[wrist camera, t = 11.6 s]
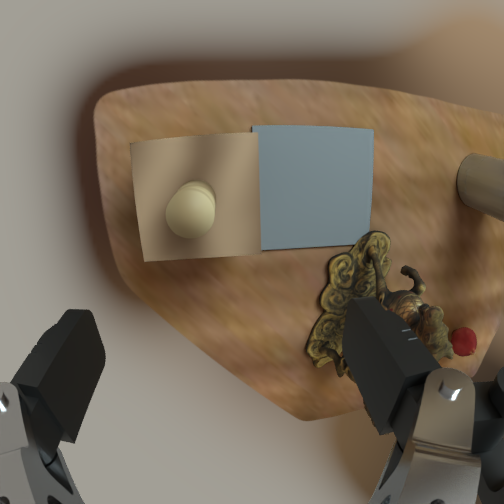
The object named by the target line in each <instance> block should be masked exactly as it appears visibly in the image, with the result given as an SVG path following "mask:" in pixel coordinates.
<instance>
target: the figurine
mask: <svg viewBox="0 0 504 504" xmlns="http://www.w3.org/2000/svg"><path fill="white" fill-rule="evenodd" d="M390 242H391V241H390V238H389V236H388V235H387V234H386V233H384V232H381V231H371V232H368V233H366V234H365V235H363V236H362V237H361V238H360V239H359V240H358V241H357V242H356V244H355V245H354V247H353V249H352V250H351V251H350V252H344V253H341V254H338V255H335V256H333V257H332V258H331V259H330V261H329V264H328V271H329V282H328V284H327V286H326V287H325V288H324V289H323V291H322V293H321V295H320V305H321V307H322V308H323V309H324V313H323V314H322V315H321V317H320V318H319V319H318V321H317V322H316V324H315V325H314V327H313V330H312V332H311V335H310V337H309V340H308V342H307V347H306V352H307V353H308V355H309V356H311V357H312V358H313V364H314V366H315V367H317V368H319V367H322V366H323V365H324V364H325V363H327V362H329V361H332V360H334V363H335V367H336V371H337V375H338V376H339V377H342V376H343V374H344V373H346V374H347V376H348V377H349V378H350V379H351V380H352V381H354V382H355V379H354V377H353V375H352V373H351V371H350V369H349V367H348V365H347V362H346V360H345V358H344V355H343V356H342V357H340V356H339V354H340V353H341V351H342V337H343V331H344V325H345V319H346V312H347V306H348V302H349V300H350V299H352V298H361V297H370V296H374V297H375V298H376V299H377V300H378V301H379V303H380V304H381V305H382V306H383V308H384V309H385V310H391V311H392V312H394V313H395V314H397V315H399V316H400V317H402V318H403V319H404V320H405V322H406V323H407V324H408V325H409V327H410V328H411V330H413V331H414V333H415V334H416V335H417V338H418V339H420V340H421V341H422V343H423V344H424V345H425V347H426V348H427V349H428V350H429V352H430V353H431V354H432V355H433V357H434V358H435V359H436V361H437V362H438V361H439V360H440V359H441V358H442V357H447V358H449V359H453V357H452V356H453V354H454V351H453V349H452V347H453V345H452V344H451V343H450V342H449V341H448V328H447V326H446V325H445V324H444V323H443V322H442V319H443V315H444V314H443V311H442V309H441V308H440V307H439V306H432V307H429V305H428V304H424V303H423V301H422V300H421V298H420V296H421V295H422V294H423V292H424V291H425V288H426V286H425V283H424V282H423V281H422V279H421V278H420V276H419V274H418V272H417V271H416V270H415V269H413V268H411V267H409V266H406V265H405V266H404V267H402V269H401V272H400V273H402V274H403V275H405V276H407V275H408V276H409V278H412V279H413V280H414V286H413V288H412V289H411V290H409V291H407V290H399V291H396V292H390V291H389V290H388V289H387V286H386V283H385V279H384V277H385V276H386V275H387V273H388V271H389V269H390V266H391V260H390V259H389V258H386V254H387V253H388V251H389V249H390ZM355 383H356V382H355ZM363 403H364V405H365V409H366V411H367V414H368V416H369V417H370V418H371V421H372V423H373V425H374V426H375V423H374V421H373V419H372V417H371V414H370V412H369V410H368V408H367V406H366V403H365V401H364V399H363ZM375 427H376V426H375ZM376 429H377V428H376ZM377 431H378V430H377ZM387 434H389V433H387ZM387 434H385V435H387Z"/></svg>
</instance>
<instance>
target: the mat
mask: <svg viewBox="0 0 504 504" xmlns="http://www.w3.org/2000/svg"><path fill="white" fill-rule="evenodd" d="M252 132H258V146H259V181H260V220H261V250H273V249H289V248H305V247H321V246H337V245H353V244H356V242H357V241H358V240H359V239H360V238H361V237H362V236H363V235H365V234H366V233H368V232H369V226H370V214H371V200H372V182H373V154H374V130H372V129H360V128H346V127H328V126H295V125H267V126H252Z"/></svg>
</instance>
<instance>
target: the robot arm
mask: <svg viewBox="0 0 504 504" xmlns="http://www.w3.org/2000/svg"><path fill="white" fill-rule="evenodd" d="M457 187H458V192H459V196H460V198H461V200H462V201H463V203H464V204H466V205H467V206H469V207H471V208H474V209H476V210H478V211H481V212H483V213H485V214H487V215H489V216H492V217H494V218H496V219H498V220H500V221H503V222H504V160H503V159H499V158H494V157H490V156H485V155H480V154H471V155H469V156H467V157H466V158H465V159H464V161H463V162H462V164H461V166H460V169H459V172H458V178H457ZM342 351H343V355H344V358H345V360H346V362H347V365H348V367H349V369H350V371H351V373H352V375H353V377H354V379H355V382H356V384H357V386H358V388H359V390H360V392H361V395H362V397H363V399H364V401H365V403H366V406H367V408H368V410H369V412H370V414H371V417H372V419H373V421H374V423H375V426H376V428H377V430H378V432H379V435H383V434H387V433H390V432H394V434H395V436H396V440H395V442H394V444H393V447H392V449H391V452H390V455H389V458H388V460H387V463H386V465H385V468H384V470H383V473H382V475H381V478H380V480H379V483H378V485H377V487H376V490H375V492H374V494H373V496H372V498H371V500H370V501H369V503H368V504H475V501H476V496H477V493H478V495H479V497H480V500H481V502H482V504H504V439H503V437H504V367H502V368H501V369H500V371H499V372H498V374H497V376H496V377H495V379H494V381H490V382H475V383H473V382H472V380H471V379H470V378H469V377H468V376H467V375H466V374H464V373H463V372H461V371H459V370H457V369H453V368H442V367H441V366H440V365H439V363H438V362H437V361H436V359H435V358H434V357H433V355H432V354H431V353H430V352H429V350H428V349H427V348H426V347H425V345H424V344H423V343H422V341H421V340H420V339H418V338H417V335H416V334H415V333H414V331H413V330H411V328H410V327H409V325H408V324H407V323H406V322H405V320H404V319H403V318H402V317H400V316H399V315H397V314H395V313H394V312H392V311H391V310H385V309H384V308H383V306H382V305H381V304H380V303H379V301H378V300H377V299H376V298H375V297H374V296H370V297H361V298H352V299H350V300H349V302H348V306H347V312H346V319H345V325H344V331H343V337H342ZM105 357H106V356H105V350H104V346H103V344H102V341H101V338H100V334H99V331H98V329H97V325H96V323H95V319H94V316H93V314H92V312H91V311H90V310H79V309H69V310H67V311H66V312H65V313H64V314H63V316H62V317H61V319H60V320H59V321H58V323H57V324H55V325H54V326H52V327H51V328H50V329H48V330H47V331H46V332H45V333H44V334H43V335H42V336H41V338H40V339H39V341H38V342H37V345H35V346H34V348H33V349H32V351H31V353H30V354H29V355H28V356H27V358H26V359H25V361H24V362H23V364H22V365H21V367H20V368H19V370H18V371H17V373H16V374H15V376H14V378H13V379H12V381H11V382H10V383H7V382H0V504H85V503H84V502H83V500H82V498H81V496H80V494H79V492H78V490H77V488H76V486H75V484H74V481H73V479H72V477H71V475H70V472H69V470H68V468H67V465H66V463H65V460H64V457H63V455H62V452H61V450H60V449H59V448H58V445H59V443H60V440H61V441H66V442H70V443H75V441H76V438H77V435H78V432H79V429H80V427H81V424H82V421H83V419H84V416H85V413H86V411H87V408H88V405H89V403H90V400H91V398H92V395H93V393H94V390H95V388H96V385H97V383H98V381H99V378H100V376H101V373H102V371H103V368H104V366H105V359H106V358H105Z"/></svg>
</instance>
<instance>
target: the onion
mask: <svg viewBox="0 0 504 504" xmlns="http://www.w3.org/2000/svg"><path fill="white" fill-rule="evenodd" d="M451 344H452V345H453V347H452V349H453V351H454V353H455V354H457V355H459V356H468V355H474V354H475V350H476V346H477V339H476V335H475V333H474V331H473V330H471V329H469V328H467V327H463V328H459V329H457V330H455V331H453V333H452V338H451Z"/></svg>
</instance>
